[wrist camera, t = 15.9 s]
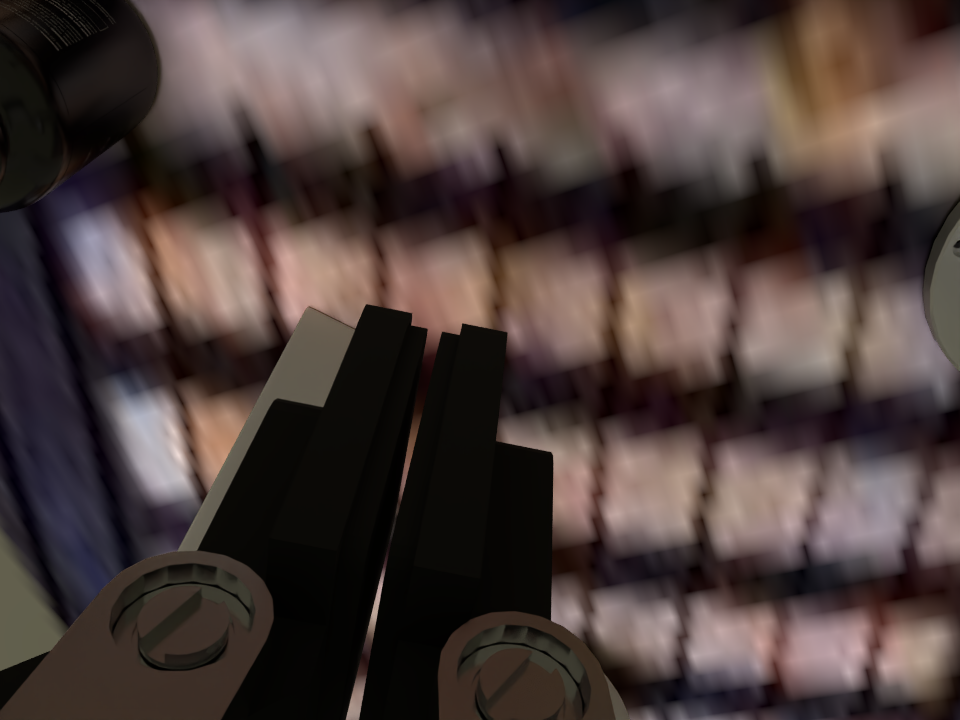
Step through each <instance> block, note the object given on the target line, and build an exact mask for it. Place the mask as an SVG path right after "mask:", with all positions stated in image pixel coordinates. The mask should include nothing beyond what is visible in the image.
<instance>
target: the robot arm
mask: <svg viewBox="0 0 960 720" xmlns="http://www.w3.org/2000/svg"><path fill="white" fill-rule="evenodd" d="M959 240H960V202H959V203H958V204H957V205H956V207H955V208H954V209H953V210H952V212H951V213H950V214H949V216H948V217H947V219H946V221H945V223H944V225H943V227H942V228H941V230H940V232H939V234H938V236H937V238H936V239H935V241H934V244H933V247H932V250H931V253H930V256H929V259H928V262H927V265H926V268H925V278H924V287H923V299H924V308H925V316H926V319H927V322H928V324H929V327H930V330H931V332H932V335H933V337H934V339H935V341H936V342H937V343H938V345H939V347H940V348H941V350H942V351H943V353H944V354H945V356H946V357H947V358H948V359H949V361H950V362H951V363H952V364H953V365H954V366H955V368H956V369H957V370H958V371H959V372H960V242H959V243H957V244H955V243H956V242H957V241H959ZM411 323H412V313H408V312H403V311H398V310H393V309H388V308H383V307H378V306H373V305H368V304H366V306H365V307H364V310H363V312H362V315H361V317H360V319H359V322H358V324H357V327H356V329H355V331H354V334H353V336H352V339H351V341H350V344H349V346H348V348H347V351H346V353H345V356H344V358H343V360H342V363H341V365H340V368H339V370H338V373H337V375H336V377H335V380H334V382H333V385H332V387H331V389H330V392H329V394H328V397H327V399H326V402H325V404H324V406H323V407H320V406H314V405H309V404H304V403H299V402H294V401H289V400H284V399H279V398H277V399H275V400H274V401H273V402H272V404H271V406H270V407H269V409H268V411H267V413H266V415H265V417H264V419H263V421H262V423H261V425H260V427H259V429H258V431H257V433H256V435H255V437H254V439H253V441H252V442H251V444H250V446H249V448H248V450H247V452H246V454H245V456H244V458H243V460H242V462H241V464H240V466H239V468H238V470H237V472H236V474H235V476H234V478H233V480H232V482H231V484H230V486H229V488H228V490H227V492H226V494H225V496H224V498H223V500H222V502H221V504H220V506H219V508H218V510H217V512H216V514H215V516H214V518H213V520H212V522H211V523H210V525H209V527H208V529H207V531H206V533H205V535H204V537H203V539H202V541H201V543H200V545H199V547H198V549H197V551H178V552H170V553H166V554H162V555H158V556H154V557H151V558H147V559H145V560H143V561H141V562H139V563H137V564H135V565H133V566H131V567H129V568H127V569H125V570H123V571H122V572H121V573H120V574H119V575H117V576H116V577H115V578H114V579H113V580H112V581H111V582H110V583H108V584H107V585H106V586H105V587H104V588H103V589H102V590H101V591H100V593H99V594H98V595H97V596H96V597H95V599H94V600H93V601H92V602H91V603H90V605H89V606H88V607H87V608H86V609H85V610H84V612H83V613H82V614H81V615H80V616H79V618H78V619H77V620H76V621H75V622H74V624H73V625H72V626H71V627H70V628H69V630H68V631H67V632H66V633H65V634H64V635H63V637H62V638H61V639H60V640H59V641H58V643H57V644H56V645H55V646H54V648H53V649H52V650H51V651H49V652H46V653H44V654H41V655H39V656H36V657H34V658H31V659H29V660H27V661H24V662H22V663H19V664H17V665H14V666H12V667H9V668H7V669H4V670H2V671H0V720H346V716H347V712H348V708H349V704H350V700H351V696H352V692H353V687H354V683H355V679H356V675H357V671H358V667H359V663H360V659H361V655H362V651H363V646H364V642H365V638H366V634H367V630H368V626H369V622H370V618H371V614H372V610H373V605H374V601H375V597H376V593H377V589H378V585H379V581H380V577H381V573H382V568H383V564H384V560H385V556H386V552H387V548H388V544H389V540H390V536H391V531H392V527H393V523H394V518H395V513H396V508H397V503H398V497H399V491H400V486H401V480H402V474H403V469H404V463H405V457H406V452H407V446H408V440H409V435H410V429H411V423H412V417H413V412H414V406H415V400H416V395H417V389H418V383H419V378H420V372H421V366H422V361H423V355H424V349H425V344H426V338H427V330H428V329H426V328H421V327H416V326H411ZM506 343H507V332H503V331H498V330H493V329H488V328H483V327H478V326H473V325H468V324H463V323H462V328H461V333H460V335H456V334H451V333H446V332H442V334H441V338H440V342H439V346H438V350H437V355H436V359H435V363H434V367H433V371H432V375H431V380H430V384H429V388H428V392H427V396H426V400H425V405H424V409H423V413H422V417H421V421H420V425H419V430H418V434H417V438H416V442H415V446H414V450H413V455H412V459H411V463H410V467H409V471H408V475H407V480H406V484H405V488H404V492H403V496H402V500H401V505H400V509H399V513H398V517H397V521H396V525H395V530H394V534H393V538H392V542H391V547H390V552H389V556H388V561H387V566H386V571H385V576H384V581H383V587H382V592H381V598H380V604H379V609H378V615H377V621H376V626H375V632H374V638H373V643H372V649H371V655H370V661H369V666H368V672H367V678H366V683H365V689H364V695H363V700H362V706H361V712H360V717H359V720H616V718H615V714H614V709H613V705H612V700H611V696H610V691H609V687H608V683H607V681H606V678H605V676H604V673H603V671H602V668H601V666H600V663H599V661H598V660H597V659H596V657H595V656H594V655H593V654H592V652H591V651H590V650H589V648H588V647H587V646H586V645H585V643H584V642H583V641H581V640H580V639H579V638H577V637H576V636H575V635H574V634H572V633H571V632H570V631H568V630H567V629H566V628H564V627H563V626H561V625H559V624H556V623H554V622H552V621H551V585H552V521H553V455H552V453H551V452H548V451H543V450H538V449H532V448H527V447H522V446H517V445H512V444H507V443H502V442H497V441H496V434H497V425H498V416H499V407H500V398H501V389H502V379H503V370H504V361H505V352H506Z"/></svg>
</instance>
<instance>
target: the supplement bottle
mask: <svg viewBox="0 0 960 720" xmlns="http://www.w3.org/2000/svg"><path fill="white" fill-rule="evenodd" d="M157 79H158V72H157V61H156V56H155V52H154V49H153V45H152V43H151V40H150V38H149V35H148V33H147V31H146V29H145V27H144V25H143V24H142V22H141V20H140V19H139V17H138V16H137V15H136V13H135V12H134V11H133V9H132V8H131V7H130V6H129V5H128V4H127V3H126V2H125V0H0V213H3V212H10V211H15V210H18V209H21V208H24V207H27V206H29V205H31V204H33V203H35V202H37V201H38V200H40V199H41V198H43V197H45V196H46V195H48V194H49V193H50V192H52V191H53V190H54V189H56V188H57V187H58V186H60V185H61V184H62V183H64V182H65V181H66V180H68V179H69V178H70V177H72V176H73V175H74V174H75V173H77V172H78V171H79V170H81V169H82V168H83V167H85V166H86V165H87V164H89V163H90V162H91V161H93V160H94V159H95V158H97V157H98V156H99V155H101V154H102V153H103V152H105V151H106V150H107V149H109V148H110V147H111V146H113V145H114V144H115V143H117V142H118V141H119V140H121V139H122V138H123V137H124V136H126V135H127V134H128V133H129V132H130V131H132V130H133V129H134V128H135V127H136V126H137V125H138V124H139V123H140V122H141V121H142V120H143V119H144V117H145V116H146V115H147V113H148V111H149V110H150V108H151V105H152V103H153V100H154V97H155V93H156V88H157Z"/></svg>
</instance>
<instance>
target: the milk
mask: <svg viewBox="0 0 960 720" xmlns="http://www.w3.org/2000/svg"><path fill="white" fill-rule="evenodd" d="M354 331H355V329H353V328H351V327H349V326H347V325H345V324H343V323H341V322H339V321H337V320H335V319H333V318H331V317H329V316H326V315H324V314H322V313H320V312H318V311H316V310H314V309H312V308H310V307H307V308H306V310H305V312H304V314H303V315H302V317H301V319H300V321H299V323H298V325H297V327H296V329H295V330H294V332H293V334H292V336H291V338H290V340H289V342H288V344H287V346H286V347H285V349H284V351H283V353H282V355H281V357H280V359H279V361H278V363H277V364H276V366H275V368H274V370H273V372H272V374H271V376H270V378H269V380H268V381H267V383H266V385H265V387H264V389H263V391H262V393H261V395H260V397H259V398H258V400H257V402H256V404H255V406H254V408H253V410H252V412H251V413H250V415H249V417H248V419H247V421H246V423H245V425H244V427H243V429H242V430H241V432H240V434H239V436H238V438H237V440H236V442H235V444H234V446H233V447H232V449H231V451H230V453H229V455H228V457H227V459H226V461H225V463H224V464H223V466H222V468H221V470H220V472H219V474H218V476H217V478H216V479H215V481H214V483H213V485H212V487H211V489H210V491H209V493H208V495H207V496H206V498H205V500H204V502H203V504H202V506H201V508H200V510H199V512H198V513H197V515H196V517H195V519H194V521H193V523H192V525H191V527H190V529H189V530H188V532H187V534H186V536H185V538H184V540H183V542H182V544H181V546H180V547H179V549H178V551H197V549H198V547H199V545H200V543H201V541H202V539H203V537H204V535H205V533H206V531H207V529H208V527H209V525H210V523H211V522H212V520H213V518H214V516H215V514H216V512H217V510H218V508H219V506H220V504H221V502H222V500H223V498H224V496H225V494H226V492H227V490H228V488H229V486H230V484H231V482H232V480H233V478H234V476H235V474H236V472H237V470H238V468H239V466H240V464H241V462H242V460H243V458H244V456H245V454H246V452H247V450H248V448H249V446H250V444H251V442H252V441H253V439H254V437H255V435H256V433H257V431H258V429H259V427H260V425H261V423H262V421H263V419H264V417H265V415H266V413H267V411H268V409H269V407H270V406H271V404H272V402H273V401H274V400H275V399H277V398H279V399H284V400H289V401H294V402H299V403H304V404H309V405H314V406H320V407H323V406H324V404H325V402H326V399H327V397H328V394H329V392H330V389H331V387H332V385H333V382H334V380H335V377H336V375H337V373H338V370H339V368H340V365H341V363H342V360H343V358H344V356H345V353H346V351H347V348H348V346H349V344H350V341H351V339H352V336H353V334H354ZM178 551H177V552H178Z"/></svg>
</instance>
